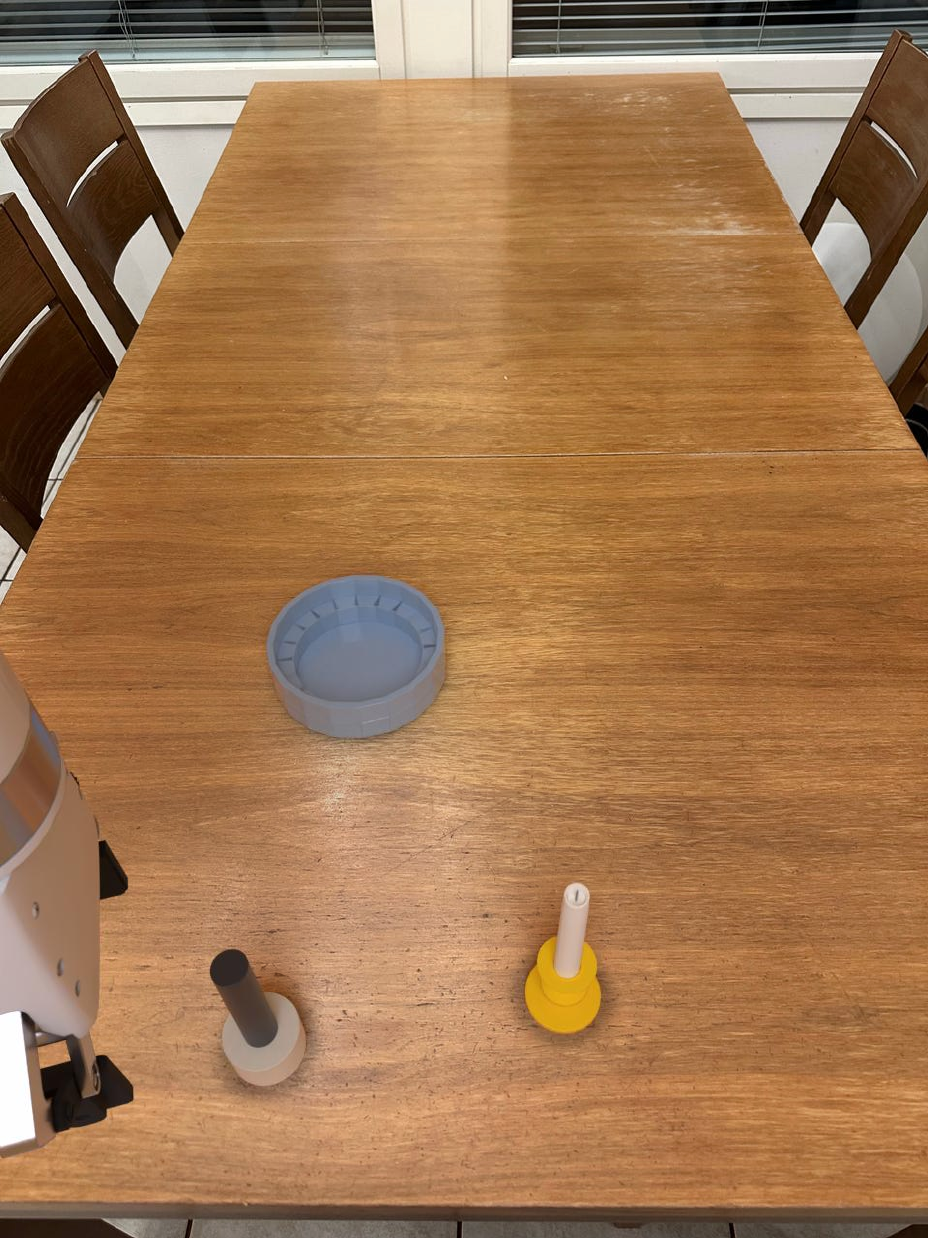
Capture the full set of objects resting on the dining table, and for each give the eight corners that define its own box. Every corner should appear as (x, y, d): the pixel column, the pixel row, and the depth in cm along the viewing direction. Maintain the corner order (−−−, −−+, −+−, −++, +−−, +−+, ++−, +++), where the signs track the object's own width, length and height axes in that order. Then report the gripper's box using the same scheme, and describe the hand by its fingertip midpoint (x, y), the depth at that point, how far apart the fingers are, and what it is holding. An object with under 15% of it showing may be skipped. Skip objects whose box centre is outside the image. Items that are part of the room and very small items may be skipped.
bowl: (288, 761, 79) (278, 725, 75) (266, 630, 89) (257, 593, 85) (465, 720, 81) (463, 684, 77) (424, 598, 91) (421, 560, 87)
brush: (235, 1096, 61) (187, 1023, 52) (227, 1019, 64) (181, 938, 55) (311, 1074, 62) (278, 998, 52) (300, 1000, 65) (267, 916, 56)
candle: (590, 1044, 63) (613, 946, 51) (515, 1020, 64) (520, 918, 52) (607, 971, 66) (632, 862, 55) (535, 948, 67) (545, 838, 56)
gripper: (-151, 614, 35) (19, 845, 48) (-269, 1102, 24) (-4, 1236, 36) (58, 574, 36) (170, 810, 49) (42, 1020, 25) (194, 1178, 37)
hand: (96, 991), depth 42 cm, fingers open, 9 cm apart
